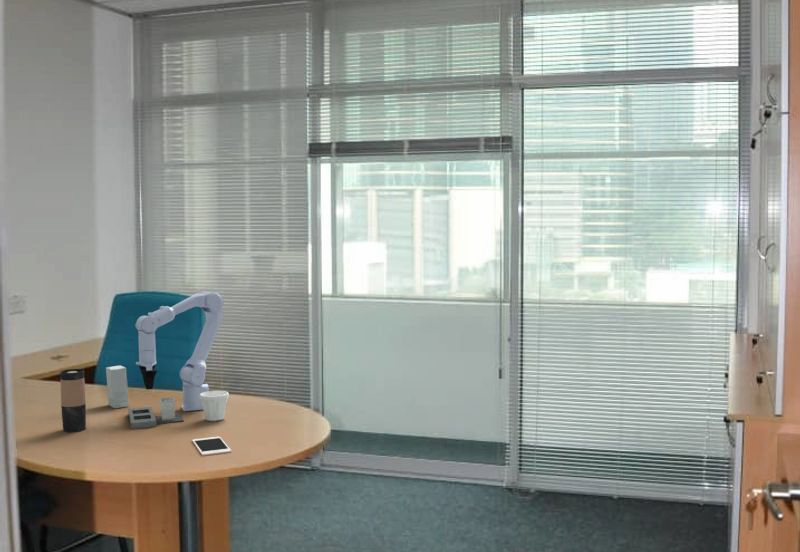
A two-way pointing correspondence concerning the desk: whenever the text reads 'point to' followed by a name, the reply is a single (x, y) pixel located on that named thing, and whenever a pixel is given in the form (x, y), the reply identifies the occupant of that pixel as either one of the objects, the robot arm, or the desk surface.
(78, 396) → the travel mug
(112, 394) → the skincare box
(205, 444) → the cell phone
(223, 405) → the cup
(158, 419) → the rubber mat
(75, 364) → the desk surface
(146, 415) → the grey flat block
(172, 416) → the grey boxy piece
